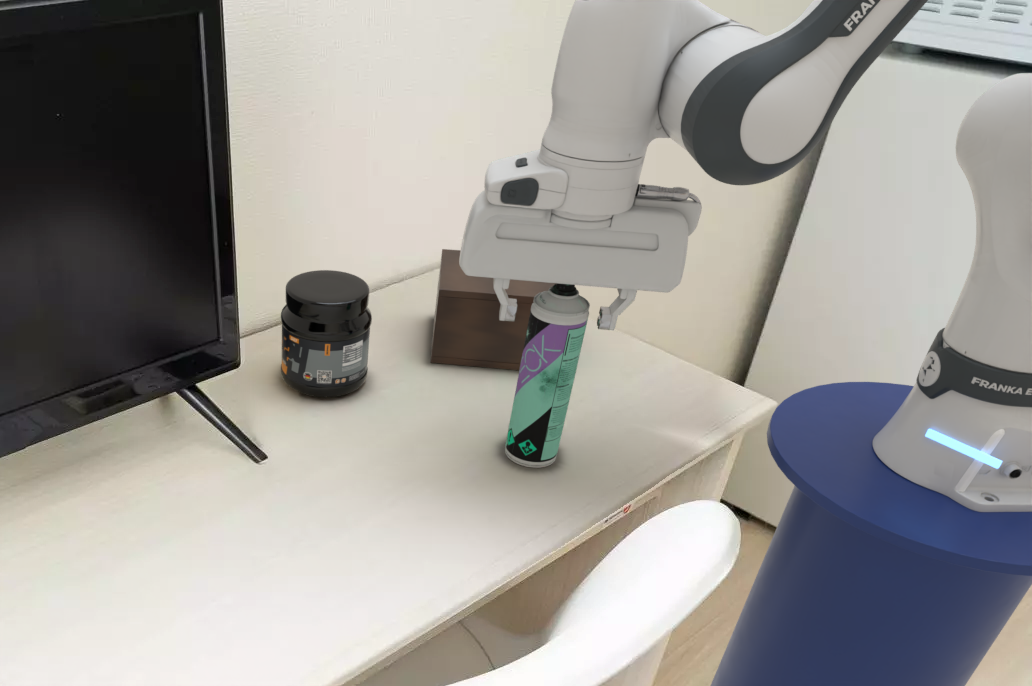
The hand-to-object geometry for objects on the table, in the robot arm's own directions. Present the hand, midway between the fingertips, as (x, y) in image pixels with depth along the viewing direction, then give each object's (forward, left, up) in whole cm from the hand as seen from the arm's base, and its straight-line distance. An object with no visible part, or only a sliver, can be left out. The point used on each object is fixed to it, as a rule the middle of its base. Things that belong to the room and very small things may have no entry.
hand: (555, 323), depth 91 cm
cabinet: (+4, -25, -15) cm, 30 cm away
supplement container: (+24, -12, -16) cm, 31 cm away
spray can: (0, 0, -16) cm, 16 cm away
